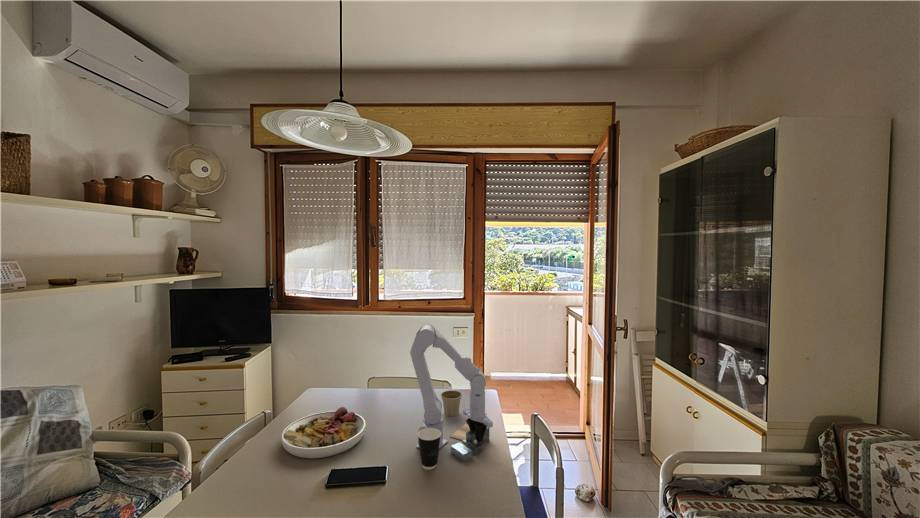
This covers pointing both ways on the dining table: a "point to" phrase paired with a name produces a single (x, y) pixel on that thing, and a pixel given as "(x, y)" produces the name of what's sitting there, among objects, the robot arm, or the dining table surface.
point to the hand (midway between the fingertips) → (477, 439)
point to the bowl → (323, 433)
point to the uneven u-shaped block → (470, 441)
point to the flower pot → (451, 402)
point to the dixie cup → (429, 447)
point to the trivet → (461, 433)
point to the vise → (462, 451)
